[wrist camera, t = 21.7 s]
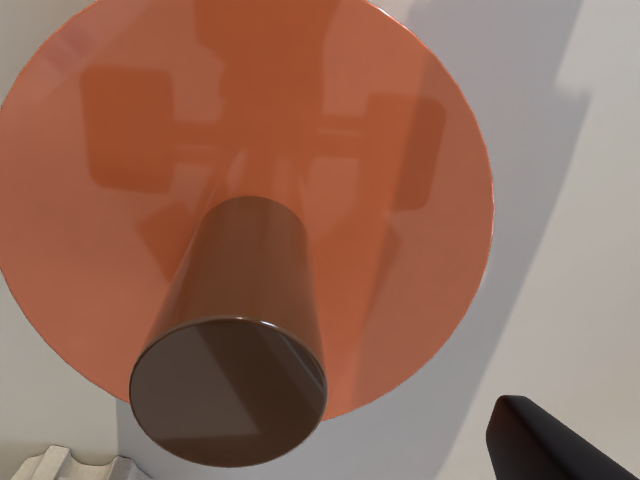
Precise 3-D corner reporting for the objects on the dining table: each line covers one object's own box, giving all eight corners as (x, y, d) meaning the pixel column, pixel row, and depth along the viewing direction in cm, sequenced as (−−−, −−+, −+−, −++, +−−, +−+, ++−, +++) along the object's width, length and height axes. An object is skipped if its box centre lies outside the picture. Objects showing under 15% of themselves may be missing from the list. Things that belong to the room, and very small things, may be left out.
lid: (47, 401, 15) (-106, 639, 9) (-43, -67, 10) (-555, -223, 4) (429, 411, 17) (509, 622, 11) (537, 7, 11) (824, -22, 5)
